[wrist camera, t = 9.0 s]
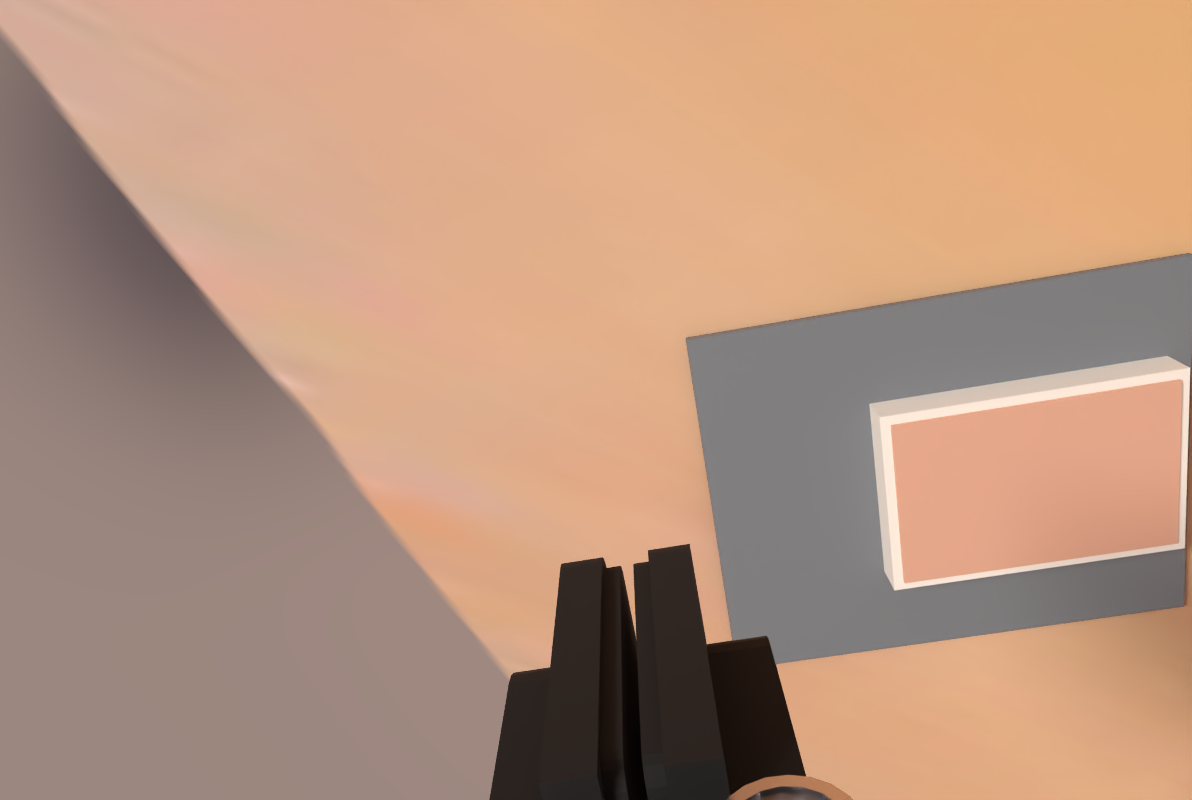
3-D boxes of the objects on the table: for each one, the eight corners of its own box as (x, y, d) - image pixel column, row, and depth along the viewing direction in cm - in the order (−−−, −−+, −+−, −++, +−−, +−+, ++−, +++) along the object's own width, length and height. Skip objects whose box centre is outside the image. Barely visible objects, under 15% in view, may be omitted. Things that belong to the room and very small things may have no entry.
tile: (869, 403, 39) (1167, 355, 38) (884, 571, 42) (1164, 530, 41) (880, 419, 38) (1193, 369, 37) (895, 592, 40) (1187, 550, 39)
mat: (1188, 253, 37) (1194, 255, 37) (1178, 601, 43) (1183, 606, 42) (685, 338, 39) (686, 340, 38) (736, 664, 44) (737, 669, 44)
